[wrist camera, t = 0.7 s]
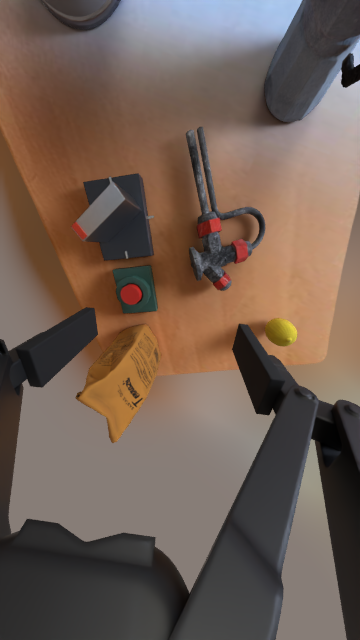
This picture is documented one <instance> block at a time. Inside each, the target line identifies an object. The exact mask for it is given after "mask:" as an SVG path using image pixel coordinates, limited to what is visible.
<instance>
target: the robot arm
mask: <svg viewBox="0 0 360 640" xmlns="http://www.w3.org/2000/svg"><path fill="white" fill-rule="evenodd" d="M41 1H42V3H43V4H44V5H45V7H46V8H47V9H48V10H49V11H50V12H51V13H52V14H53V15H54V16H55V17H56V18H57V19H59V20H60V21H61V22H63V23H64V24H66V25H68V26H70V27H73V28H76V29H91V28H94V27H97V26H99V25H101V24H102V23H103V22H105V21H106V20H107V19H108V18H109V17H110V16H111V15H112V14H113V12H114V11H115V9H116V8H117V6H118V4H119V2H120V1H121V0H41ZM97 335H98V331H97V324H96V316H95V309H94V308H88V307H86V308H84V309H82V310H81V311H79V312H77V313H76V314H74V315H72V316H71V317H69V318H67V319H66V320H64V321H62V322H60V323H59V324H57V325H55V326H54V327H52V328H51V329H49V330H47V331H45V332H42V333H40V334H38V335H36V336H34V337H33V338H31V339H29V340H27V342H24V343H22V344H21V345H19V346H17V347H15V348H13V349H12V350H10V351H8V349H7V347H6V345H5V342H4V340H1V339H0V640H275V639H276V634H277V629H278V624H279V618H280V614H281V607H282V600H283V584H282V580H281V573H282V566H283V562H284V558H285V553H286V548H287V544H288V539H289V535H290V531H291V526H292V522H293V517H294V513H295V508H296V503H297V499H298V495H299V489H300V486H301V480H302V477H303V472H304V467H305V463H306V458H307V454H308V449H309V445H310V440H311V439H313V440H315V445H316V450H317V457H318V463H319V469H320V476H321V482H322V488H323V494H324V500H325V507H326V513H327V519H328V525H329V531H330V537H331V544H332V550H333V556H334V562H335V568H336V575H337V581H338V587H339V593H340V600H341V606H342V612H343V618H344V624H345V631H346V637H347V640H360V407H359V406H358V405H356V404H354V403H351V402H349V401H346V400H338V401H337V402H336V403H335V404H334V405H332V404H329V403H326V402H322V401H320V400H318V398H317V397H316V395H315V394H314V393H312V392H311V391H310V390H308V389H307V388H305V387H302V386H299V385H298V384H297V383H296V381H295V380H294V379H293V377H292V376H291V375H290V373H289V372H288V371H287V370H286V368H285V367H284V365H283V364H282V363H281V361H280V360H279V359H277V358H276V357H275V356H273V355H268V354H267V352H266V351H265V350H264V348H263V347H262V345H261V344H260V342H259V341H258V339H257V338H256V336H255V335H254V333H253V332H252V331H251V329H250V328H249V326H248V325H245V324H239V326H238V329H237V333H236V337H235V341H234V344H233V348H232V350H233V353H234V356H235V358H236V361H237V364H238V366H239V369H240V372H241V374H242V377H243V380H244V382H245V385H246V387H247V390H248V393H249V396H250V398H251V401H252V403H253V406H254V409H255V412H256V414H263V415H270V413H271V410H272V408H273V410H274V412H275V414H276V416H275V418H274V420H273V422H272V424H271V426H270V428H269V430H268V432H267V434H266V436H265V438H264V440H263V442H262V445H261V447H260V449H259V451H258V453H257V455H256V457H255V459H254V461H253V463H252V466H251V467H250V469H249V472H248V474H247V476H246V478H245V480H244V482H243V484H242V486H241V488H240V490H239V493H238V495H237V497H236V499H235V501H234V503H233V505H232V507H231V509H230V511H229V513H228V515H227V517H226V520H225V521H224V524H223V526H222V528H221V530H220V532H219V534H218V536H217V538H216V540H215V542H214V544H213V546H212V548H211V551H210V553H209V555H208V557H207V559H206V561H205V563H204V565H203V567H202V569H201V571H200V573H199V575H198V577H197V579H196V581H195V583H194V586H193V588H192V590H191V592H190V594H189V591H188V589H187V587H186V585H185V582H184V580H183V578H182V576H181V575H180V573H179V571H178V570H177V568H176V567H175V565H174V564H173V562H172V561H171V560H170V559H169V558H168V557H167V556H166V555H165V554H164V553H163V552H162V551H161V550H159V549H158V548H156V547H155V537H150V536H142V535H136V534H128V533H121V534H117V535H113V536H109V537H105V538H101V539H98V540H94V541H90V542H84V541H82V540H81V539H79V538H78V537H77V536H75V535H74V534H72V533H71V532H70V531H68V530H67V529H65V528H64V527H62V526H61V525H60V524H58V523H52V522H45V521H39V520H32V519H27V520H26V522H25V523H24V525H23V526H22V528H21V530H20V531H18V532H15V533H12V534H11V529H10V524H9V519H8V518H9V517H8V513H9V504H10V495H11V487H12V479H13V470H14V462H15V453H16V446H17V445H16V444H17V436H18V428H19V420H20V412H21V404H22V395H23V385H22V383H23V382H24V381H25V380H26V379H28V382H29V384H30V386H33V387H43V386H44V385H45V384H46V383H47V382H49V381H50V380H51V379H52V378H53V377H54V376H55V375H56V374H57V373H58V372H59V371H60V370H61V369H62V368H63V367H64V366H65V365H66V364H67V363H69V362H70V361H71V360H72V359H73V358H74V357H75V356H76V355H77V354H78V353H79V352H80V351H81V350H82V349H83V348H84V347H85V346H86V345H87V344H88V343H90V342H91V340H93V339H94V338H95V337H96V336H97Z"/></svg>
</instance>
